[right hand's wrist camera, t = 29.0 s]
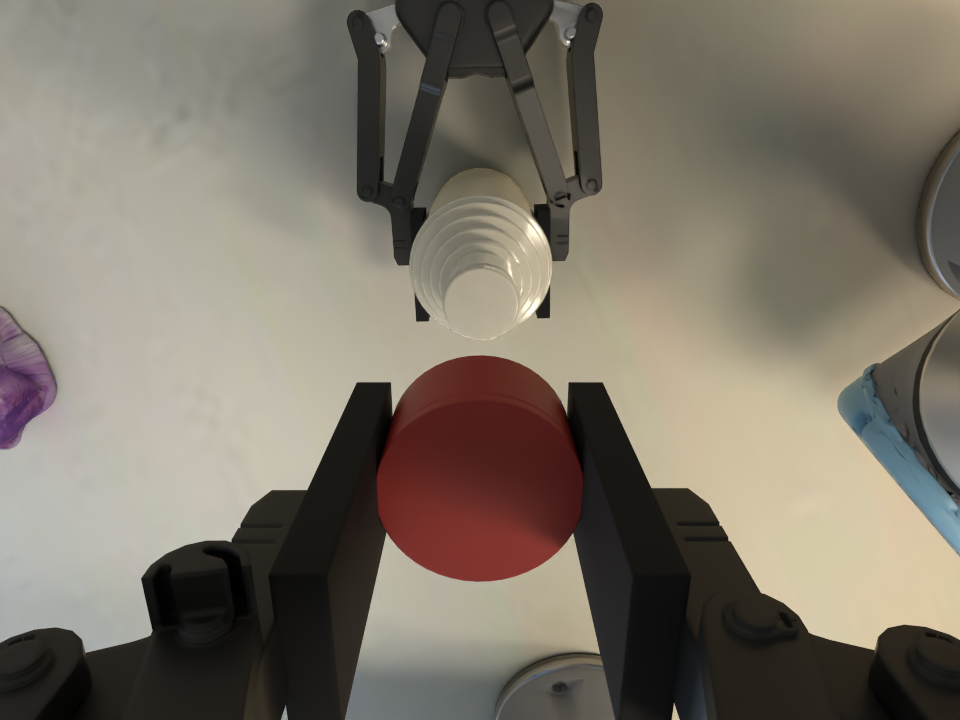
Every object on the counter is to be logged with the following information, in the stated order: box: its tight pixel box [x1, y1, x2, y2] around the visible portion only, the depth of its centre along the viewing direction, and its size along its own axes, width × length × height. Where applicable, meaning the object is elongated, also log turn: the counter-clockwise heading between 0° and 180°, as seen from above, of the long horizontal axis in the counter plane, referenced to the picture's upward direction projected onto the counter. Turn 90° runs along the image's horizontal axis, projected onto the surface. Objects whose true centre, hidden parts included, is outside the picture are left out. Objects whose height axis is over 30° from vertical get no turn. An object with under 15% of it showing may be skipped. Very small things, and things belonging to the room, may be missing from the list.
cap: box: [376, 356, 583, 582], centre depth 14 cm, size 4×4×2 cm
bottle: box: [409, 168, 552, 340], centre depth 35 cm, size 7×7×23 cm
